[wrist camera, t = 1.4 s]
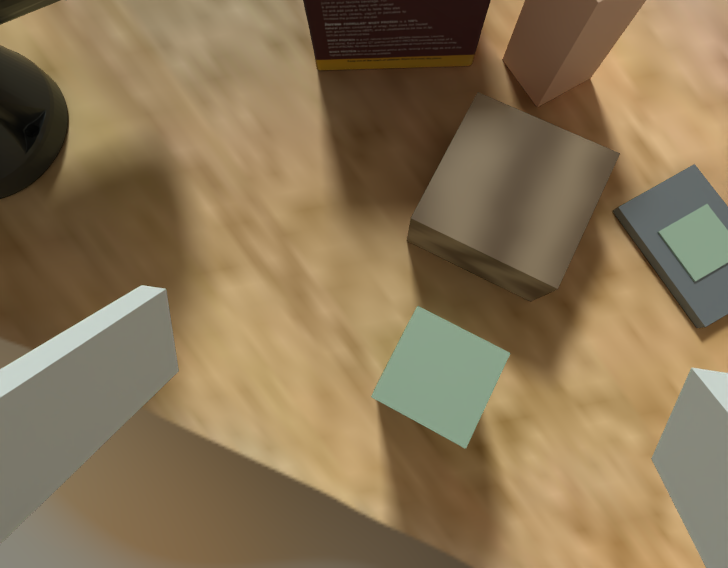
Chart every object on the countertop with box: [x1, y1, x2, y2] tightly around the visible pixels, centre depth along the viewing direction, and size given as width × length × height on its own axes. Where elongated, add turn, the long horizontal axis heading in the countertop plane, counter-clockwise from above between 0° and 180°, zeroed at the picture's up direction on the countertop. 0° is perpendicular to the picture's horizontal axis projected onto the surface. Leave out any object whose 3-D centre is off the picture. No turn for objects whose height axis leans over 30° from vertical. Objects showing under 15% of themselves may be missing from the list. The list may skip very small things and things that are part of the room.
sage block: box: [371, 306, 510, 449], centre depth 31 cm, size 6×6×12 cm
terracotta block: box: [503, 0, 646, 107], centre depth 36 cm, size 6×6×12 cm
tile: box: [613, 164, 728, 328], centre depth 37 cm, size 12×8×1 cm, turn 29°
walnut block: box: [407, 92, 620, 301], centre depth 36 cm, size 12×12×6 cm
